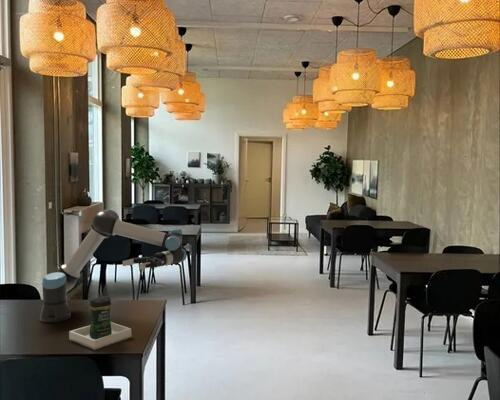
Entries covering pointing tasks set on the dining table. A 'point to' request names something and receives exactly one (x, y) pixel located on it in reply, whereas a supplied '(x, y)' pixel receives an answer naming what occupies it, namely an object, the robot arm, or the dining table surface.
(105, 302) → the coffee jar
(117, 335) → the tray
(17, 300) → the dining table surface
